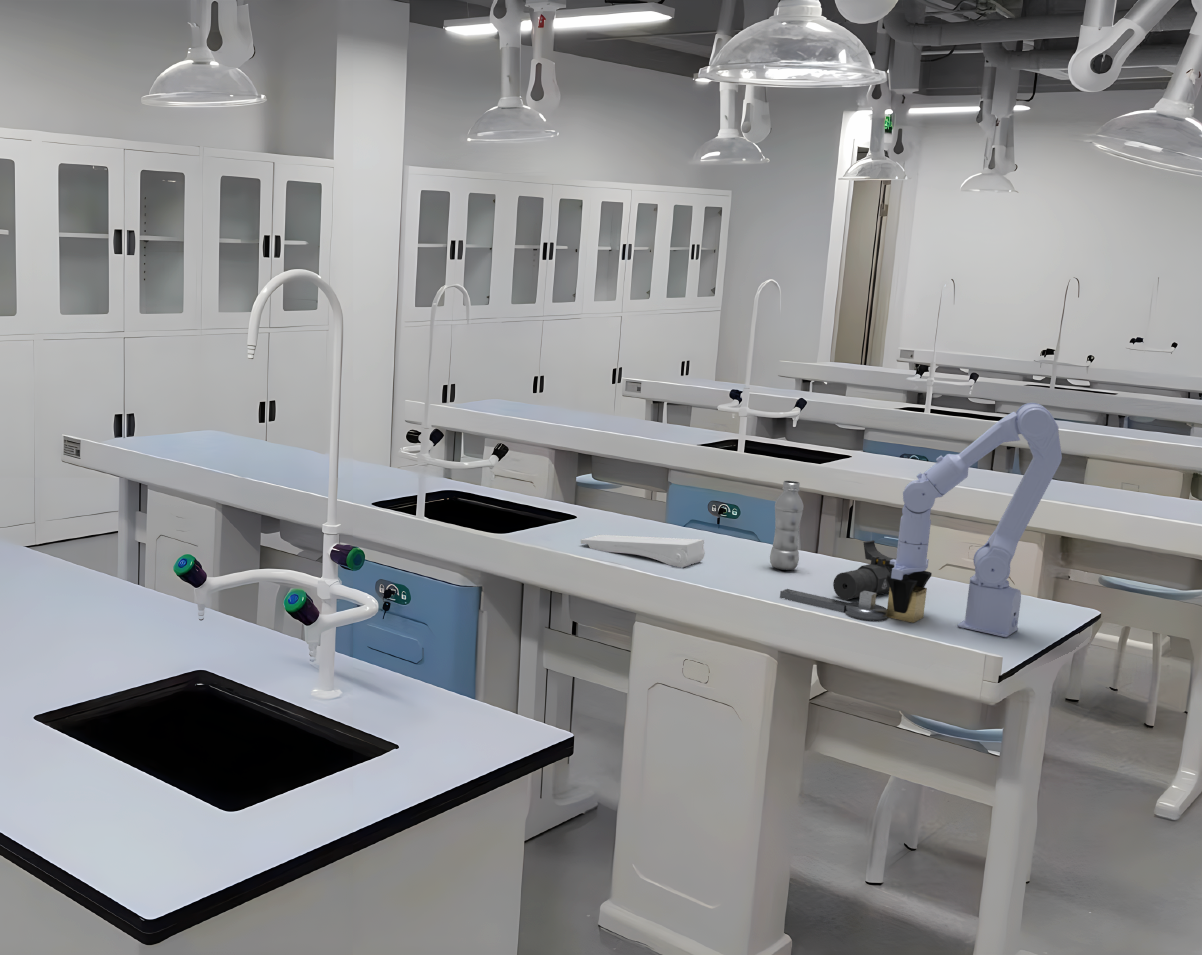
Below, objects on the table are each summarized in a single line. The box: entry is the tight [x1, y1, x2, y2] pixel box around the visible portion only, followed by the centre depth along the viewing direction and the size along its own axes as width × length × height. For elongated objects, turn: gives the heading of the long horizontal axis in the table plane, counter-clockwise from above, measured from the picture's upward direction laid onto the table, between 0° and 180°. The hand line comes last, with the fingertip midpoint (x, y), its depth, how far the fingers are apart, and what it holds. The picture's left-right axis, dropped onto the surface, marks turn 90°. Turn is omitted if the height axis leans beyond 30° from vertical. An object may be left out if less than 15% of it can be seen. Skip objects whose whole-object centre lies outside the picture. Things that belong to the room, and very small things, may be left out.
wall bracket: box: [580, 534, 706, 568], centre depth 268 cm, size 10×7×28 cm
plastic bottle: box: [769, 480, 805, 571], centre depth 261 cm, size 6×7×20 cm
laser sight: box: [832, 540, 896, 601], centre depth 247 cm, size 10×22×10 cm, turn 134°
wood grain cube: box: [886, 586, 928, 624], centre depth 229 cm, size 6×6×6 cm
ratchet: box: [779, 588, 888, 622], centre depth 233 cm, size 22×8×5 cm, turn 55°
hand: (905, 609), depth 229 cm, fingers closed on wood grain cube, 5 cm apart
